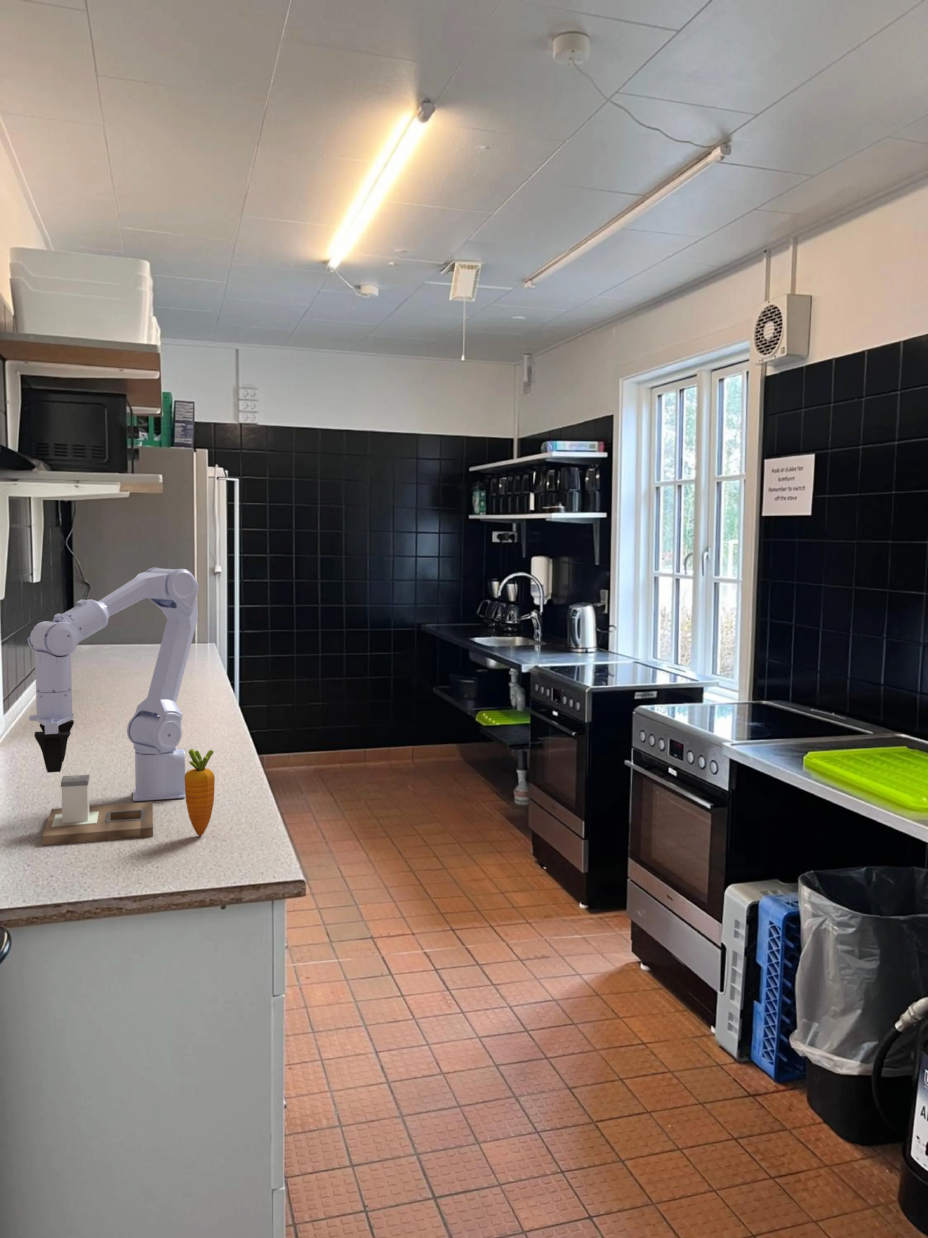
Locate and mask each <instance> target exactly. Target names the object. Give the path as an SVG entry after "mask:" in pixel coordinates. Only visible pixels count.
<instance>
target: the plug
mask: <svg viewBox="0 0 928 1238" xmlns="http://www.w3.org/2000/svg"><path fill="white" fill-rule="evenodd" d="M60 788H61V808H62V823H68V822H81V821H88V819H89V815H90V812H89V806H90V774H77V775H75V774H74V775H64V776H62V778H61V781H60Z"/></svg>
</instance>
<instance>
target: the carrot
mask: <svg viewBox="0 0 928 1238" xmlns="http://www.w3.org/2000/svg"><path fill="white" fill-rule="evenodd" d="M188 754H189V757H190V759H191V760H192V761H191V760H190V761H189V765H191V766H192V767H193V768H192V769H190V770H188V771H185V796H186V797H185V804H186V808H187V813H188V818H189V821H190V823H191V826H192V827H193V829H194V832H195V833H196V834H197V836H198V837H201V836H203V834H205V833H206V830H207V828H208V826H209V823H210V821H211V818H212V812H213V807H214V802H215V781H216V779H215V773H214V772H213V771H212V770H211V769H210V768H208V767H207V768H206V766H207V765H208V763H209V761H210V759H211V758H212V755H213V754H214V750H212V749H209V750H208V751H207V753H206V754H205V756H204V757H202V755H201V752H200V751H199V750H195V749H194V748H190V749H189V750H188Z"/></svg>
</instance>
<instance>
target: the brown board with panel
mask: <svg viewBox="0 0 928 1238" xmlns="http://www.w3.org/2000/svg"><path fill="white" fill-rule="evenodd" d="M153 803H154V802H153V801H145V802H144V801H142V802H132V803H131V802H129V803H120V804H119V803H118V804H105V805H103V804H102V805H89V812H90V815H89V819H88V821H81V822H68V823H62V807H60V808H51V810H50V814H49V816H48V819H47V822H46V824H45V827H44V830H43V832H42V834H41V835H42V836H41V842H42V843H41V845H42V846H49V845H61V844H73V843H75V844H76V843H86V842H98V841H99V842H100V841H109V840H110V841H111V840H122V839H135V838H147V837H153V836H154V817H153V816H154V809H153V808H154V807H153V805H154V804H153Z"/></svg>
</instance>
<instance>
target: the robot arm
mask: <svg viewBox="0 0 928 1238" xmlns="http://www.w3.org/2000/svg"><path fill="white" fill-rule="evenodd" d="M199 589H200V585H199V583H198V581H197V579H196V578H195V576H194V575H193V573H192V572H191V571H189V570H188V569H184V568H177V569H175V568H174V569H172V568H161V567H150V568H148V569H146V571H144V572H143V571H142V572H139V573H138V574H137V575H136V576H135V577H134V578H133V579H131V580H130V581H127V583H125V584H124V585H121V586H120V587H119V588H117V589H115V590H114V591H112V592H111V593H109V594H108V595H106V596H104V597H102V598H101V599H100V600H94V599H91V598H90V599H80V600H78V601H76V602H75V603H76V606H74V607H72V608H71V609H69V610H66V611H65V612H63V613H56V614H55V615H54V616H53V620H52V621H50V620H49V621H46V620H45V621H40V622H38V623H37V624H36V625H35V626H33V629H32V630H31V631H30V636H29V637H27V644H28V645H29V648H30V649H31V650H32V652H33V654H34V661H35V662H34V663H35V697H36V698H35V699H36V704H35V705H36V714H32V715H29V717H28V721H31V722H37V723H38V724H39V727H40V729H41V731H35V732H34V738H35V740H36V742H37V743H38V745H39V748H40V750H41V753H42V757H43V761H44V765H45V769H46V772H47V774H48V773H61V770H62V767H63V763H64V760H65V758H66V754H67V753H66V752H67V746H68V745H67V744H68V740H69V737H70V735H71V733H72V732H71V730H72V729H73V726H74V724H75V720H74V713H73V692H72V691H73V690H72V653H73V652H74V651H75V650H76V649H77V647H78V644H79V643H81V642H82V641H83V640H85V639H87V638H89V637H90V636H92V635H94V634H96V633H97V632H99V631H101V630H102V629H104V628H106V627H107V625H108V622H109V618H110V617H111V616H114V615H115V614H117V613H119V612H121V611H123V610H125V609H127V608H129V607H131V606H133V605H135V604H136V603H138V602H140V601H142V600H145V599H149V601H151V602H152V603H153V604H154V605H155V606H157V607H158V608H159V609H160V610H161V612H162V613H163V615H164V616H165V618H166V623H165V627H164V631H163V634H162V635H163V636H162V640H161V643H160V647H159V651H158V654H157V658H156V661H155V666H154V669H153V674H152V677H151V681H150V686H149V690H148V693H147V697H146V698H145V699H144V700H143V701H141V702H140V703H139V704H137V706H136V710H135V713H134V714H133V716H132V717H131V718H130V720H129V722H128V723H127V727H126V734H127V738H128V740H129V741H130V742H131V743H132V744H133V750H134V770H135V771H134V776H135V780H134V781H135V782H134V783H135V784H134V785H135V788H133V793H132V800H133V802H144V801H145V802H146V801H157V800H158V801H159V800H172V799H174V800H175V799H186V796H185V773H186V754H185V753H186V751H185V749H183V748H177V746H179V744H180V743H181V740H182V736H183V730H182V719H183V713H182V711H181V710H180V708H179V706H178V704H177V702H178V696H179V693H180V689H181V686H182V680H183V677H184V673H185V669H186V667H187V661H188V658H189V653H190V650H191V646H192V641H193V638H194V634H195V631H196V630H195V629H196V626H197V622H198V618H199V611H198V610H199V609H198V599H197V597H198V594H199V591H200V590H199Z"/></svg>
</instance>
